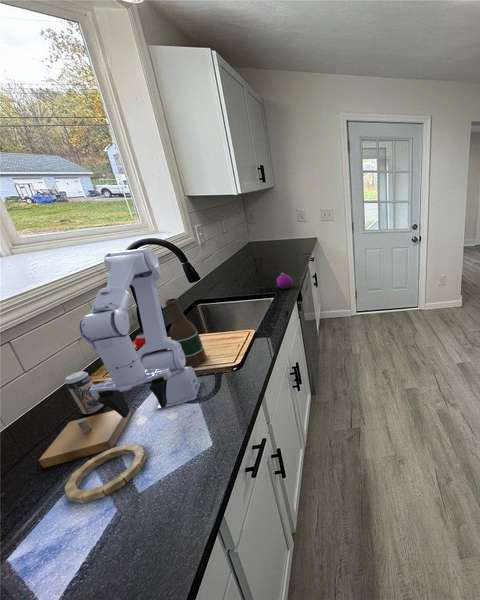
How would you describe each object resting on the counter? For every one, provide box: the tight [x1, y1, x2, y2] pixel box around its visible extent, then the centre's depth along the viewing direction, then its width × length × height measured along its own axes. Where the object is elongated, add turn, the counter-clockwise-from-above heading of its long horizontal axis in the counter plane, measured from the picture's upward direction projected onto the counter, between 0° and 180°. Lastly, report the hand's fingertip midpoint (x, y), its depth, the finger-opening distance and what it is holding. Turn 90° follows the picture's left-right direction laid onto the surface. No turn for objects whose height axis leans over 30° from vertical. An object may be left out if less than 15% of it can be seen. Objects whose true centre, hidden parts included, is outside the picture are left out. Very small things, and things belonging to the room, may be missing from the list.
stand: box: [38, 408, 132, 469], centre depth 79 cm, size 13×13×6 cm
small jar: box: [64, 370, 104, 415], centre depth 88 cm, size 5×5×12 cm
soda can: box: [133, 331, 169, 354], centre depth 109 cm, size 8×8×12 cm
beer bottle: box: [165, 298, 207, 368], centre depth 106 cm, size 8×8×24 cm
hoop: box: [64, 443, 147, 504], centre depth 69 cm, size 13×13×2 cm
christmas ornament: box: [276, 271, 293, 290], centre depth 174 cm, size 8×8×10 cm
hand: (145, 409), depth 75 cm, fingers open, 7 cm apart
